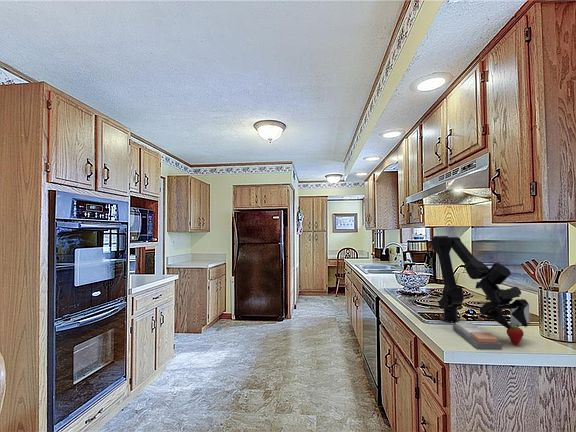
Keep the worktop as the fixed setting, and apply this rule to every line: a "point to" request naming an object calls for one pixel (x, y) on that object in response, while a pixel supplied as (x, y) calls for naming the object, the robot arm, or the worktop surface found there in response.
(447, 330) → the worktop surface
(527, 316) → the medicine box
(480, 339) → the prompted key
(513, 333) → the fruit
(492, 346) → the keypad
